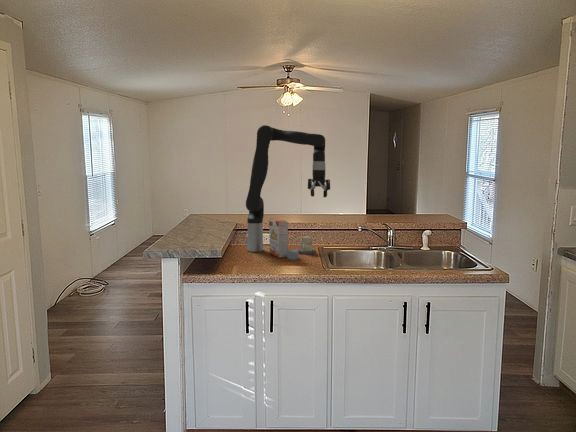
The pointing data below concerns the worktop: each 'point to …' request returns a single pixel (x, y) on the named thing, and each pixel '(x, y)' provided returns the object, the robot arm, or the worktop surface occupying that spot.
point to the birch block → (306, 243)
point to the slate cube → (293, 254)
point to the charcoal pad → (306, 252)
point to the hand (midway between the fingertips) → (318, 196)
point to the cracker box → (278, 237)
